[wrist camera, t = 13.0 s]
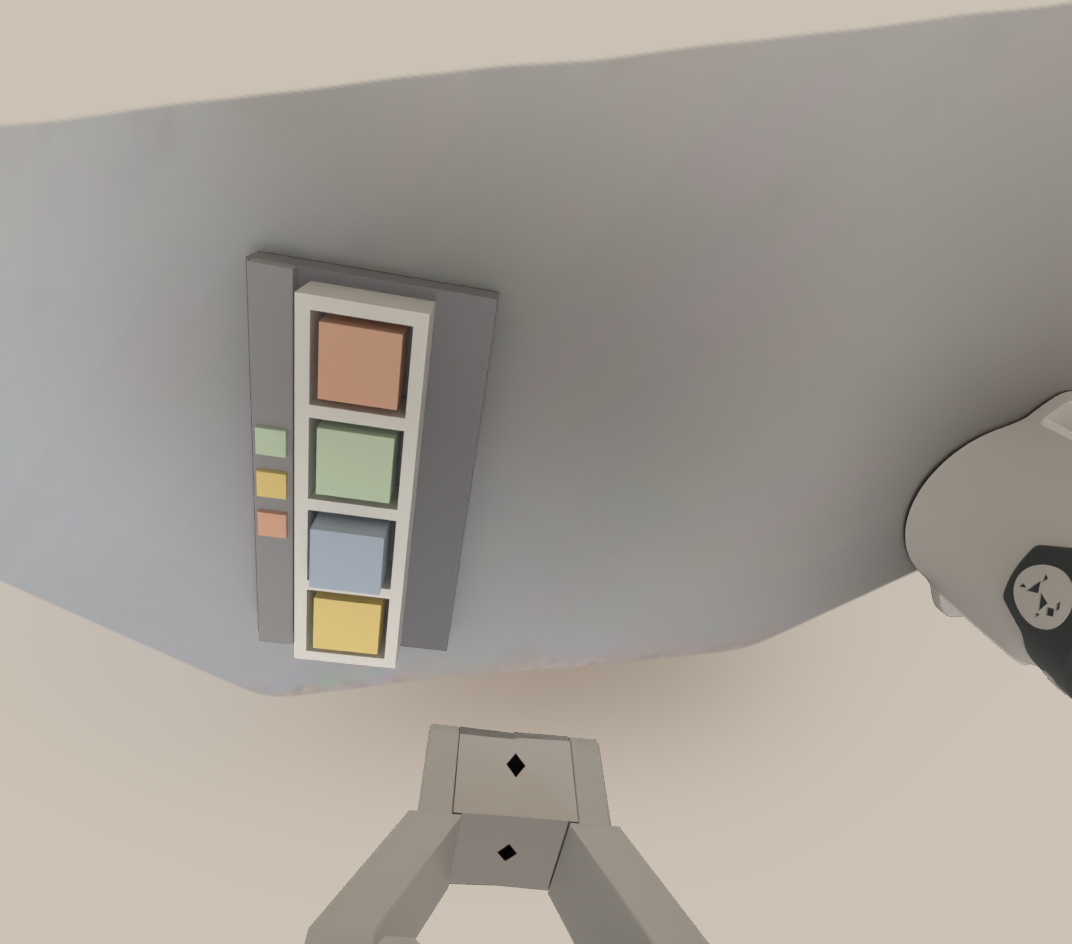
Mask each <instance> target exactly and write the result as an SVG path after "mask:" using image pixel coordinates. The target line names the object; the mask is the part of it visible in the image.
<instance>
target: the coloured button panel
mask: <svg viewBox="0 0 1072 944" xmlns="http://www.w3.org/2000/svg"><path fill="white" fill-rule="evenodd" d="M246 276H247V306H248V336H249V366H250V396H251V426H252V456H253V486H254V516H255V546H256V576H257V606H258V631H259V641H265V642H275V643H284V644H293V643H294V658H299V659H308V660H318V661H328V662H338V663H347V664H357V665H367V666H376V667H386V668H395V666H396V661H397V657H398V652H399V648H400V646H405V647H414V648H424V649H433V650H442V651H447V645H448V638H449V632H450V625H451V618H452V611H453V604H454V597H455V591H456V584H457V577H458V570H459V563H460V556H461V550H462V543H463V536H464V529H465V522H466V515H467V509H468V502H469V495H470V488H471V481H472V474H473V467H474V461H475V454H476V447H477V440H478V433H479V426H480V420H481V413H482V406H483V399H484V392H485V385H486V379H487V372H488V365H489V358H490V351H491V344H492V338H493V331H494V324H495V317H496V310H497V303H498V294H499V292H494V291H488V290H482V289H476V288H470V287H464V286H459V285H453V284H447V283H441V282H435V281H429V280H424V279H418V278H412V277H406V276H400V275H394V274H388V273H383V272H377V271H371V270H365V269H359V268H353V267H347V266H342V265H336V264H330V263H324V262H318V261H312V260H306V259H301V258H295V257H289V256H283V255H277V254H271V253H266V252H260V251H258V252H256V253H254V254H251V255H249V256H247V257H246ZM327 313H333V314H339V315H345V316H351V317H357V318H364V319H370V320H376V321H382V322H388V323H394V324H400V325H407V326H409V334H408V346H407V358H406V370H405V382H404V394H403V397H402V399H401V402H400V404H399V406H398V409H397V410H391V409H384V408H377V407H370V406H364V405H357V404H350V403H343V402H337V401H330V400H323V399H317V398H318V343H319V321H320V320H321V319H322V318H323V317H324V316H325V315H326V314H327ZM322 420H329V421H336V422H343V423H350V424H357V425H364V426H371V427H378V428H385V429H392V430H399V431H400V441H399V453H398V465H397V477H396V485H395V488H394V491H393V494H392V497H391V500H390V503H381V502H374V501H366V500H358V499H351V498H343V497H336V496H328V495H320V494H316V451H317V427H318V426H319V424H320V423H321V421H322ZM319 511H322V512H329V513H337V514H345V515H353V516H361V517H368V518H376V519H384V520H391V522H390V534H389V547H388V559H387V571H386V575H385V578H384V582H383V585H382V589H381V592H380V595H373V594H365V593H356V592H347V591H339V590H330V589H321V588H313V587H309V566H310V528H311V526H312V524H313V522H314V520H315V519H316V517H317V515H318V513H319ZM317 591H324V592H333V593H342V594H350V595H359V596H368V597H376V598H385V599H386V607H385V619H384V630H383V634H382V638H381V642H380V646H379V649H378V653H377V654H367V653H357V652H348V651H338V650H329V649H319V648H313V614H314V596H315V594H316V592H317Z"/></svg>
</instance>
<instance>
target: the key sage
mask: <svg viewBox="0 0 1072 944" xmlns="http://www.w3.org/2000/svg"><path fill="white" fill-rule="evenodd" d="M399 441H400V431H399V430H392V429H385V428H378V427H371V426H364V425H357V424H350V423H343V422H336V421H329V420H322V421H321V423H320V424H319V426H318V427H317V451H316V494H320V495H328V496H336V497H343V498H351V499H358V500H366V501H374V502H381V503H390V500H391V497H392V494H393V491H394V488H395V485H396V477H397V465H398V453H399Z"/></svg>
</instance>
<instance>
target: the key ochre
mask: <svg viewBox="0 0 1072 944" xmlns="http://www.w3.org/2000/svg"><path fill="white" fill-rule="evenodd" d="M385 607H386V599H385V598H376V597H368V596H359V595H350V594H342V593H333V592H324V591H317V592H316V594H315V596H314V614H313V648H319V649H329V650H338V651H348V652H357V653H367V654H377V653H378V649H379V646H380V642H381V638H382V634H383V630H384V619H385Z"/></svg>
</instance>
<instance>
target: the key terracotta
mask: <svg viewBox="0 0 1072 944" xmlns="http://www.w3.org/2000/svg"><path fill="white" fill-rule="evenodd" d="M408 334H409V326H407V325H400V324H394V323H388V322H382V321H376V320H370V319H364V318H357V317H351V316H345V315H339V314H333V313H327V314H326V315H325V316H324V317H323V318H322V319H321V320H320V321H319V343H318V398H317V399H323V400H330V401H337V402H343V403H350V404H357V405H364V406H370V407H377V408H384V409H391V410H397V409H398V406H399V404H400V402H401V399H402V397H403V394H404V382H405V370H406V358H407V346H408Z"/></svg>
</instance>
